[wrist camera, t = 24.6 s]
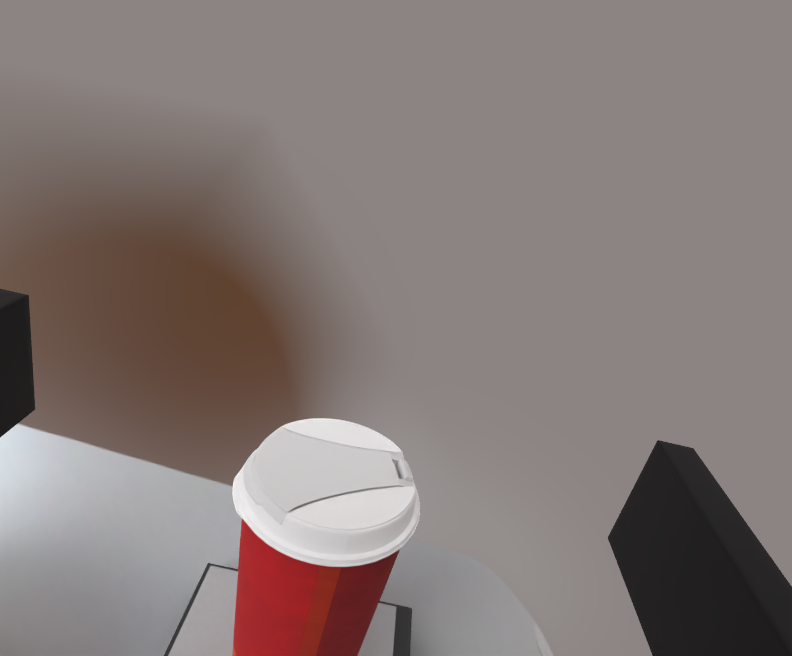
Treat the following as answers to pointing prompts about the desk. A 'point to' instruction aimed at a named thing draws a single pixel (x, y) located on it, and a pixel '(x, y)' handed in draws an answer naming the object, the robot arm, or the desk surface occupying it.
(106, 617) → the desk surface
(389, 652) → the scale
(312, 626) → the coffee cup
